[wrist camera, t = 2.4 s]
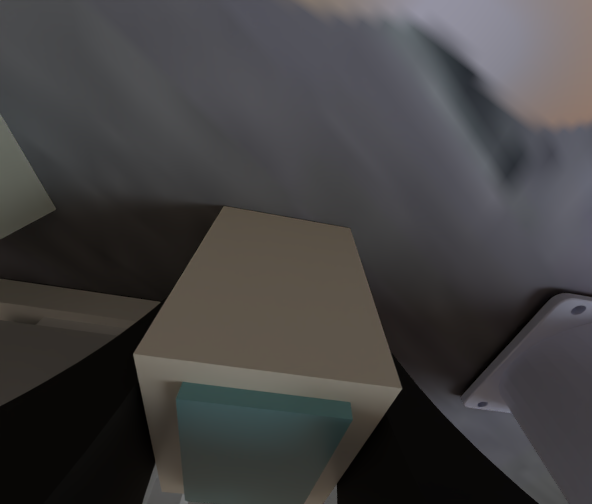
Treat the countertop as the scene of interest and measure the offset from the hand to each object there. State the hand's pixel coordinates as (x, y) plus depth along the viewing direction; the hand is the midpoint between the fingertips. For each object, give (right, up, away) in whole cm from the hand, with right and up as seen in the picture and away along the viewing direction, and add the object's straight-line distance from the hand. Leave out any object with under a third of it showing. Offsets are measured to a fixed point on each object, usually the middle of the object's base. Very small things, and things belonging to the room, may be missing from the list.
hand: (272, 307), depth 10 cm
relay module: (0, +1, +1) cm, 1 cm away
